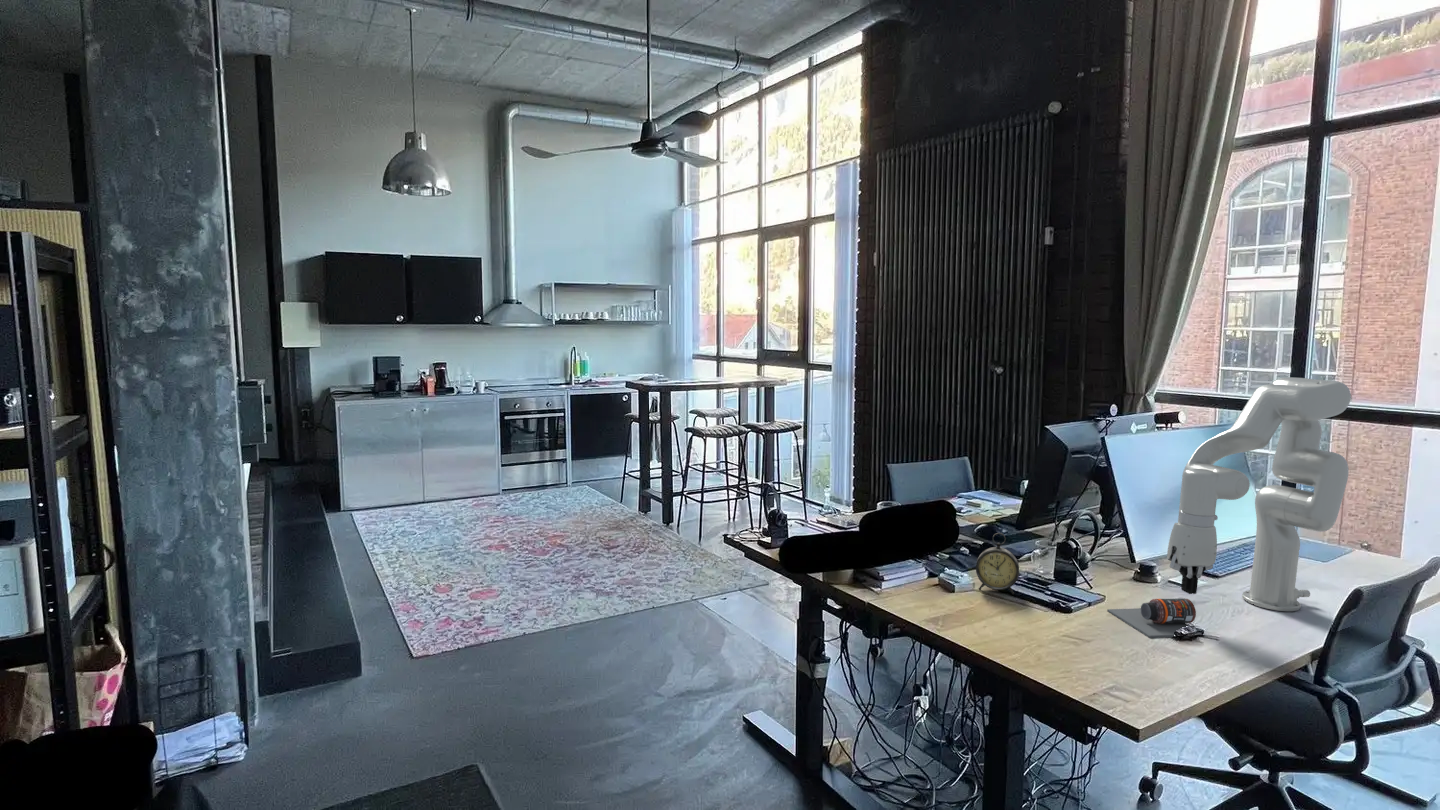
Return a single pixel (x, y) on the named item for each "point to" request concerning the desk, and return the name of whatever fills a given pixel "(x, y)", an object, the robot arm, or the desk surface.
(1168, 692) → the desk surface
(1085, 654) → the desk surface
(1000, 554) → the alarm clock
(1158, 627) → the rubber mat
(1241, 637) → the desk surface
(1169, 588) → the desk surface
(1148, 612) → the supplement bottle
